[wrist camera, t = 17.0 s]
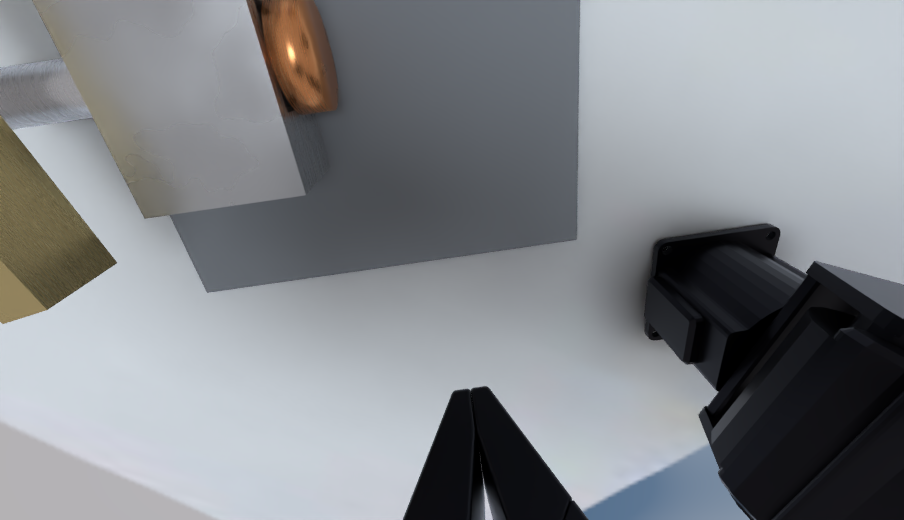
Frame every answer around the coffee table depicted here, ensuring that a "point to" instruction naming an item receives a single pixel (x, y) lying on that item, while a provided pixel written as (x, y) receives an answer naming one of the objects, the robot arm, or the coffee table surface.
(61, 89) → the lynch pin
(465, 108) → the mat
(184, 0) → the block
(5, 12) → the coffee table surface
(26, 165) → the keeper
